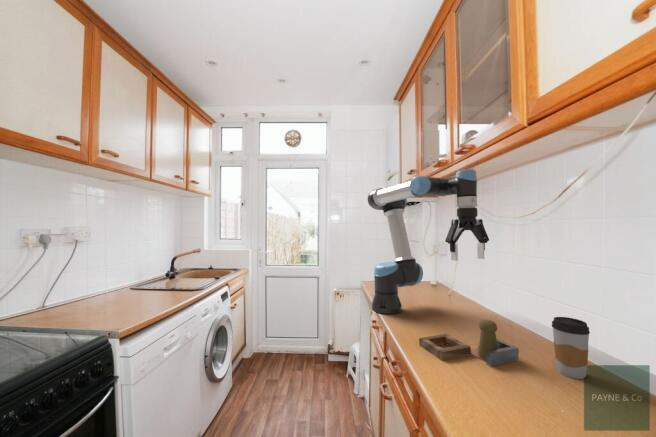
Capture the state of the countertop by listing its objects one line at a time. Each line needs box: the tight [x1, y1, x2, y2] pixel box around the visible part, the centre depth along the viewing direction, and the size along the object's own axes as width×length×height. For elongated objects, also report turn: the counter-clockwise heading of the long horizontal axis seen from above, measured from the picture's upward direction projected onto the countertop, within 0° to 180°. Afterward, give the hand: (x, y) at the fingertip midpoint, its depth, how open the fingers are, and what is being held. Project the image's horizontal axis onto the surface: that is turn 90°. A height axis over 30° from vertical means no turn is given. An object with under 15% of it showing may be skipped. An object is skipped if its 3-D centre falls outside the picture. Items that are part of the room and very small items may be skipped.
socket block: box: [418, 333, 472, 361], centre depth 95 cm, size 12×12×3 cm
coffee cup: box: [551, 316, 591, 380], centre depth 80 cm, size 8×8×15 cm
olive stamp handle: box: [478, 319, 498, 357], centre depth 91 cm, size 6×6×11 cm
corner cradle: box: [471, 337, 520, 368], centre depth 91 cm, size 12×12×4 cm
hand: (467, 259), depth 113 cm, fingers open, 13 cm apart
